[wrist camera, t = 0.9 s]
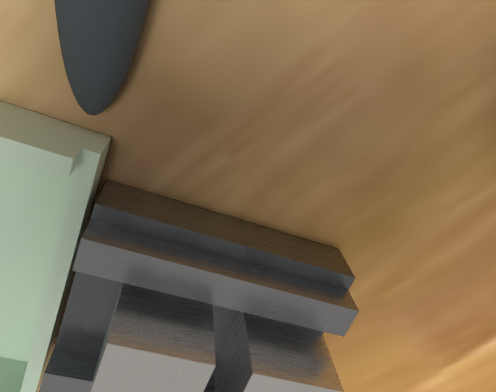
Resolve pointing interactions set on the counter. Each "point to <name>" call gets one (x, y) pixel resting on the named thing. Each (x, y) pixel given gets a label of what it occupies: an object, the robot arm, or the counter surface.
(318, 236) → the counter surface
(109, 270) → the slot board
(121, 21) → the paintbrush
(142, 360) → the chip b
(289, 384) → the grey cube
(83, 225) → the chip tray
